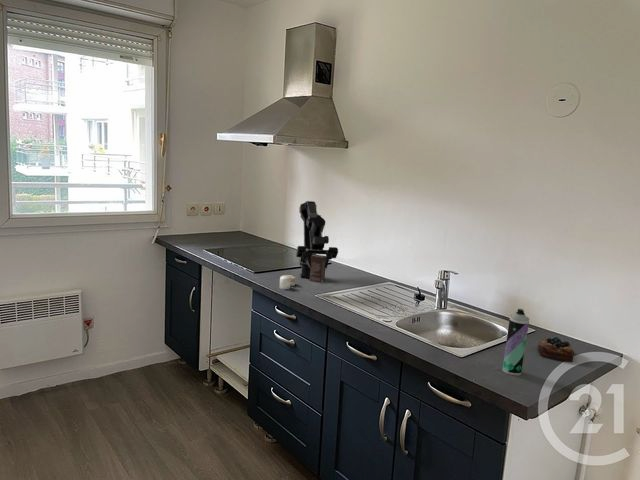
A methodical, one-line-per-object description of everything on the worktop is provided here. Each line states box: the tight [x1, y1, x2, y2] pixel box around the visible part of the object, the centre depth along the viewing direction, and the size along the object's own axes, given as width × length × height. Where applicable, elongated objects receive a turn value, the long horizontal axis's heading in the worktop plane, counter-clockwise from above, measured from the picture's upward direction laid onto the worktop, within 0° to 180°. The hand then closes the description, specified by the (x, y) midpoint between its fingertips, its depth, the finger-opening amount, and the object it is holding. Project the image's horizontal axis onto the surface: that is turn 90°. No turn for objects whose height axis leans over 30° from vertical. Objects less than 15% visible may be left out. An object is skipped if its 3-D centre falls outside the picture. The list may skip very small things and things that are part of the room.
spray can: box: [502, 308, 530, 376], centre depth 147 cm, size 6×6×20 cm
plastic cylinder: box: [279, 275, 291, 290], centre depth 224 cm, size 5×5×5 cm
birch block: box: [281, 274, 296, 287], centre depth 231 cm, size 5×5×4 cm
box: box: [308, 254, 326, 284], centre depth 218 cm, size 6×4×12 cm
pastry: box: [537, 336, 575, 363], centre depth 165 cm, size 11×12×6 cm
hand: (318, 267), depth 216 cm, fingers closed on box, 7 cm apart
